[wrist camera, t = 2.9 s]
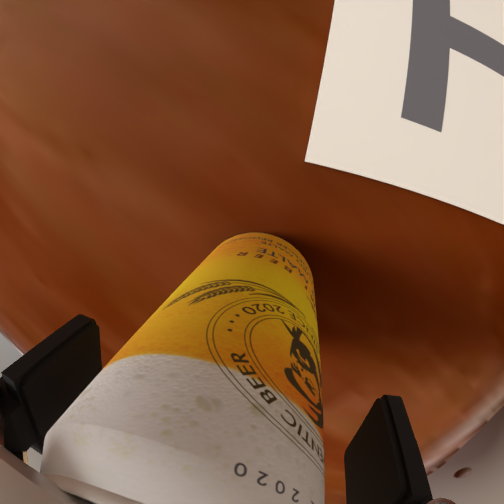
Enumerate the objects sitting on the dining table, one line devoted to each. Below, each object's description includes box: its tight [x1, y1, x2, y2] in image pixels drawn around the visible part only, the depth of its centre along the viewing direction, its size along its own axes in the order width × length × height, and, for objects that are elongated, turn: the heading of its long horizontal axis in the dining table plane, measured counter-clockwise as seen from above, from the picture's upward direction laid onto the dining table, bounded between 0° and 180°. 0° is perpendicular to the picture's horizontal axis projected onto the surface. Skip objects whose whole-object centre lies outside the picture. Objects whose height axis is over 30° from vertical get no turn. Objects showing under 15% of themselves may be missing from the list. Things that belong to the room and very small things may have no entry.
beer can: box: [40, 233, 324, 504], centre depth 10 cm, size 6×6×15 cm
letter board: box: [305, 0, 504, 225], centre depth 11 cm, size 20×20×1 cm
